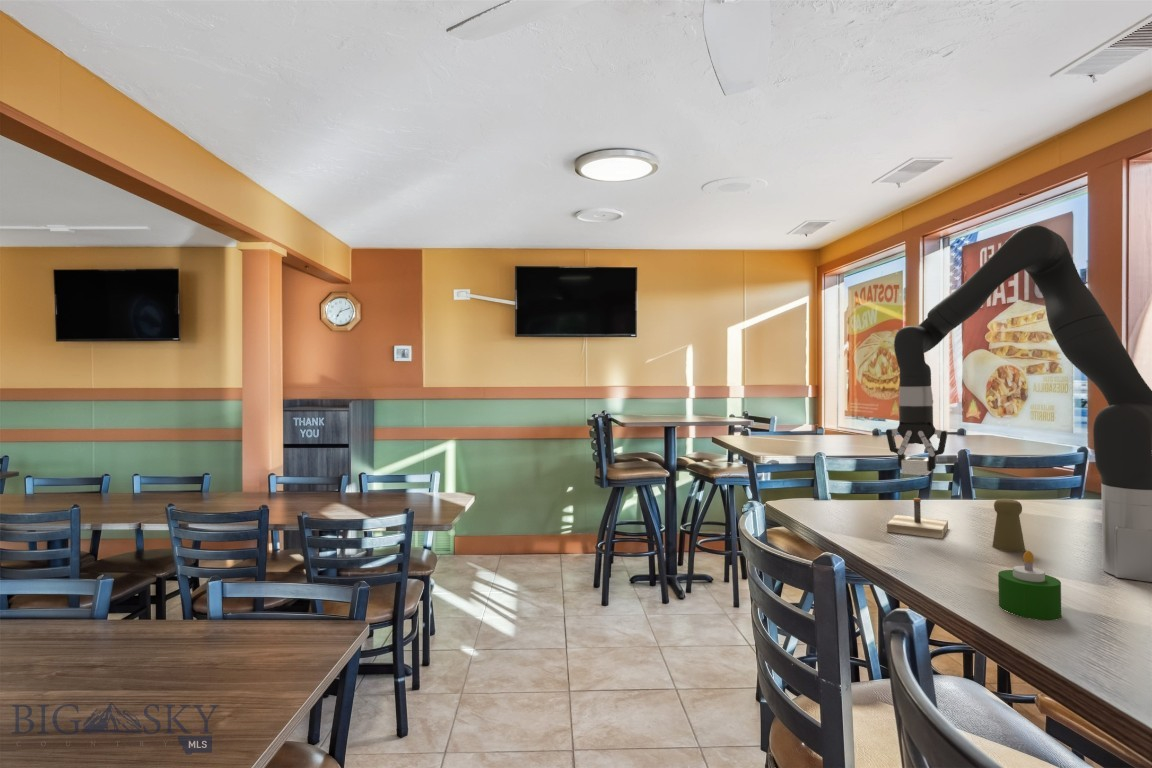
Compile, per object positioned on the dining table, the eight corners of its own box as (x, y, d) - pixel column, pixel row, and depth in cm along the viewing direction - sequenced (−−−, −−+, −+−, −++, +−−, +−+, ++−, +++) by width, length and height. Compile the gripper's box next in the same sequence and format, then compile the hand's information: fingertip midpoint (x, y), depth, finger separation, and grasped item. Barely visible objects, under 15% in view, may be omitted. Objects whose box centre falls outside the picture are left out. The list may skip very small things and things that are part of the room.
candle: (994, 611, 98) (993, 551, 98) (1004, 597, 104) (1003, 541, 104) (1057, 625, 92) (1056, 561, 92) (1064, 610, 98) (1063, 550, 98)
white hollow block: (927, 475, 146) (926, 461, 146) (901, 473, 150) (901, 459, 150) (931, 471, 152) (931, 457, 152) (907, 469, 156) (907, 456, 156)
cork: (1014, 544, 136) (1013, 496, 136) (1031, 551, 130) (1030, 502, 130) (986, 544, 137) (985, 496, 137) (1002, 551, 131) (1001, 502, 131)
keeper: (942, 538, 142) (941, 505, 142) (887, 531, 150) (886, 500, 150) (947, 528, 152) (947, 497, 152) (895, 522, 159) (895, 492, 159)
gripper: (881, 404, 152) (882, 469, 152) (946, 405, 143) (948, 474, 143) (887, 403, 158) (888, 466, 158) (950, 403, 149) (951, 470, 149)
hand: (916, 469), depth 151 cm, fingers closed on white hollow block, 5 cm apart
